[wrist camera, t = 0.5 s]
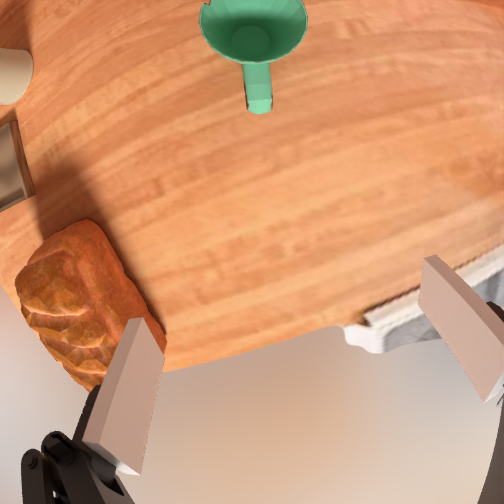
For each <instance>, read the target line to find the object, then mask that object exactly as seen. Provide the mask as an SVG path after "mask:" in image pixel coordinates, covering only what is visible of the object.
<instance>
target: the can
mask: <svg viewBox="0 0 504 504" xmlns="http://www.w3.org/2000/svg"><path fill="white" fill-rule="evenodd" d="M32 73H33V59H32V56H31V55H30V53H29V52H28V51H26V50H22V49H21V50H15V49H7V48H0V104H5V105H9V104H13V103H15V102H16V101H18V100H19V99H20V98H21V97H22V96H23V94H24V93H25V91H26V90H27V88H28V86H29V84H30V81H31V78H32Z"/></svg>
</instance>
